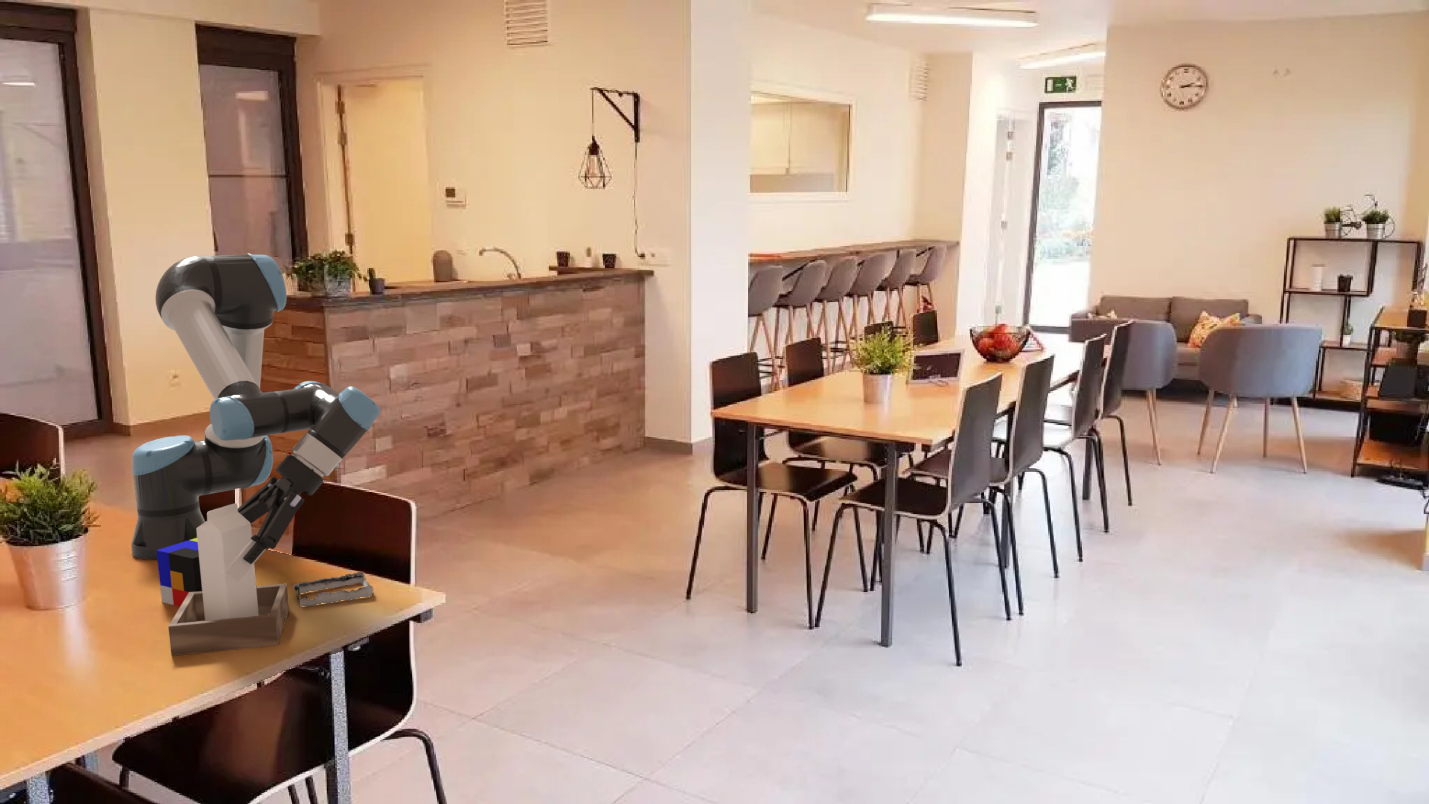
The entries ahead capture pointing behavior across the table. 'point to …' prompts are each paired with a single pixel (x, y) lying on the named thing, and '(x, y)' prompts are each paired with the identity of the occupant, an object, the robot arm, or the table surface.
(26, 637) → the table surface
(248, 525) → the milk
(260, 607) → the walnut box
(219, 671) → the table surface
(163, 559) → the puzzle toy
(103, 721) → the table surface
